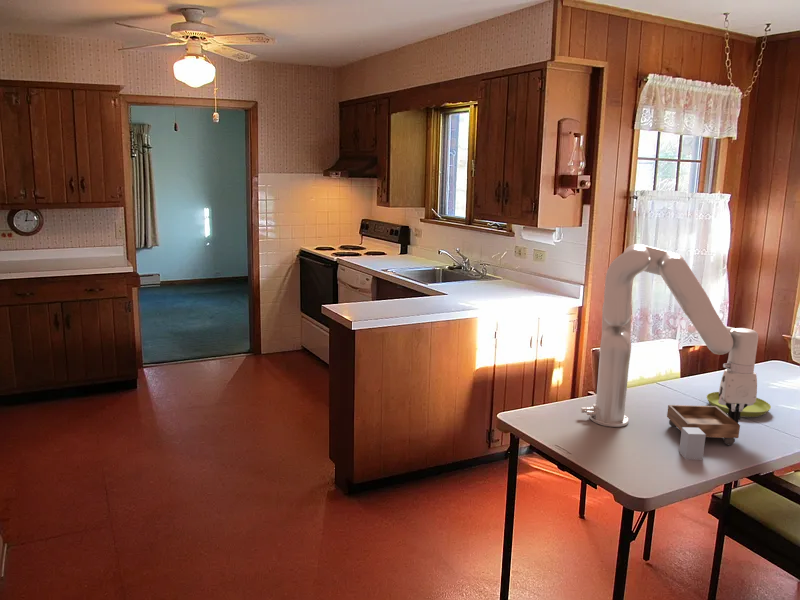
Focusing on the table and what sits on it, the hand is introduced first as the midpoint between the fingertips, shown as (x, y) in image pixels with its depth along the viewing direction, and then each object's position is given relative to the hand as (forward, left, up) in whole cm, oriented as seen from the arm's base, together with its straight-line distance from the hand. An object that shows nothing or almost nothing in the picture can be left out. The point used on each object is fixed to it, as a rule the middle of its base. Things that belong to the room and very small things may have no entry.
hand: (733, 421), depth 208 cm
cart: (-10, 0, -5) cm, 11 cm away
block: (-19, -15, -5) cm, 25 cm away
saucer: (+14, +25, -6) cm, 29 cm away
